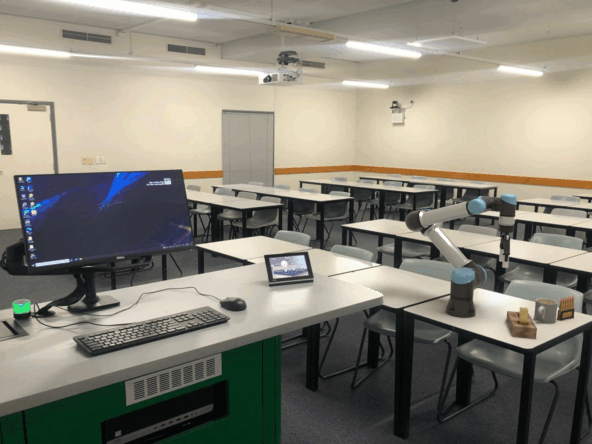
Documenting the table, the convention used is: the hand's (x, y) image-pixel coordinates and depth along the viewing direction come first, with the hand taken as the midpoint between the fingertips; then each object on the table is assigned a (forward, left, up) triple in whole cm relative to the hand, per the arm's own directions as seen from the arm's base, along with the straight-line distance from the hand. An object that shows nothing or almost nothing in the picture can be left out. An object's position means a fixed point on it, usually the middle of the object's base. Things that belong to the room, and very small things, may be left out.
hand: (503, 264), depth 260 cm
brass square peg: (+7, -26, -27) cm, 38 cm away
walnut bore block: (+7, -21, -27) cm, 35 cm away
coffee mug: (+20, -5, -27) cm, 34 cm away
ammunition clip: (+32, +1, -27) cm, 42 cm away
